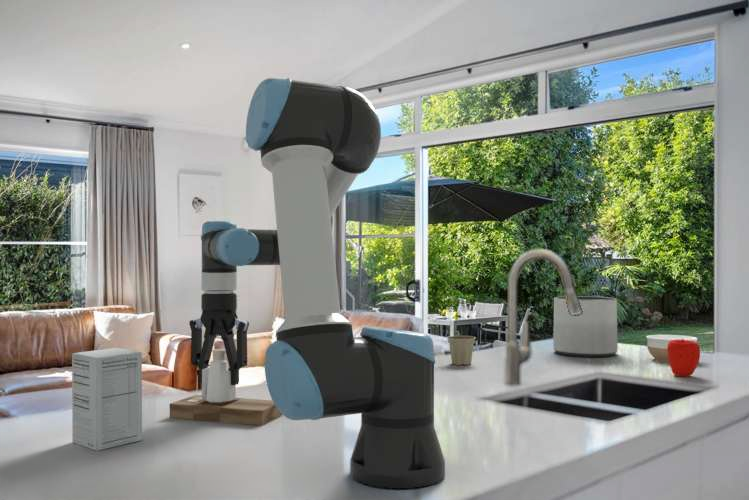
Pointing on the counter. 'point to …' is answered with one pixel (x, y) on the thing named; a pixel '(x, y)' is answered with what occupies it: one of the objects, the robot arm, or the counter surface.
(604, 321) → the planter
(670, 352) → the apple
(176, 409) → the brown flat tray
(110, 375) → the supplement box
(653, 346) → the bowl
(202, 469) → the counter surface
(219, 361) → the pepper shaker
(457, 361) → the flower pot
